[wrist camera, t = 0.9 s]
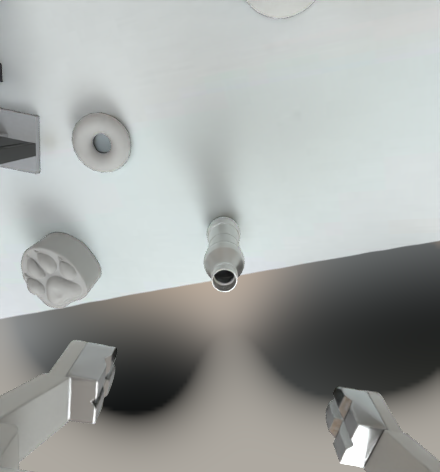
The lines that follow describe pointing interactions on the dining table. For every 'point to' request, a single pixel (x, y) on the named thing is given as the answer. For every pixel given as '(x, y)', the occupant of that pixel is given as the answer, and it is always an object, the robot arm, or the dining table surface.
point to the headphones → (0, 72)
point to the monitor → (19, 141)
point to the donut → (86, 149)
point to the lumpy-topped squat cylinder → (59, 269)
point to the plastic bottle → (223, 254)
